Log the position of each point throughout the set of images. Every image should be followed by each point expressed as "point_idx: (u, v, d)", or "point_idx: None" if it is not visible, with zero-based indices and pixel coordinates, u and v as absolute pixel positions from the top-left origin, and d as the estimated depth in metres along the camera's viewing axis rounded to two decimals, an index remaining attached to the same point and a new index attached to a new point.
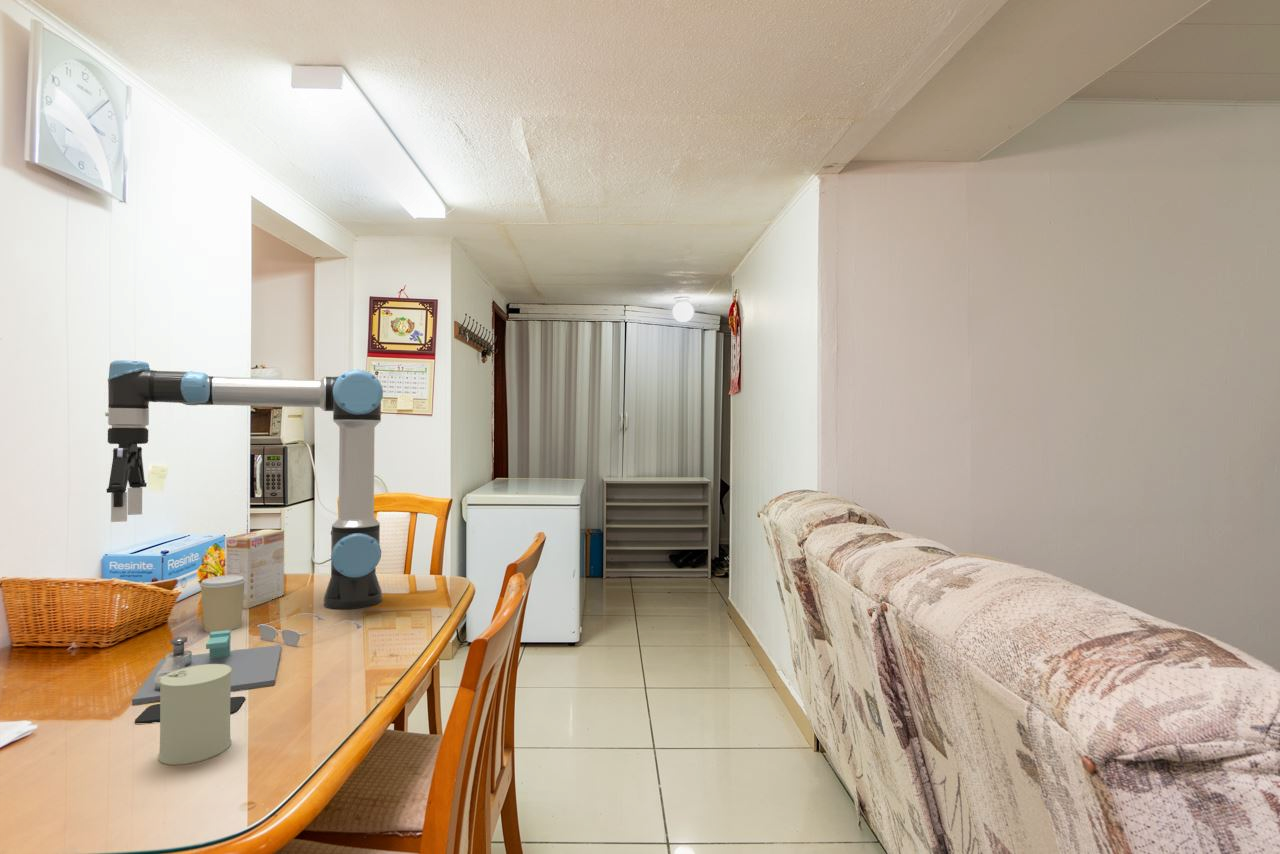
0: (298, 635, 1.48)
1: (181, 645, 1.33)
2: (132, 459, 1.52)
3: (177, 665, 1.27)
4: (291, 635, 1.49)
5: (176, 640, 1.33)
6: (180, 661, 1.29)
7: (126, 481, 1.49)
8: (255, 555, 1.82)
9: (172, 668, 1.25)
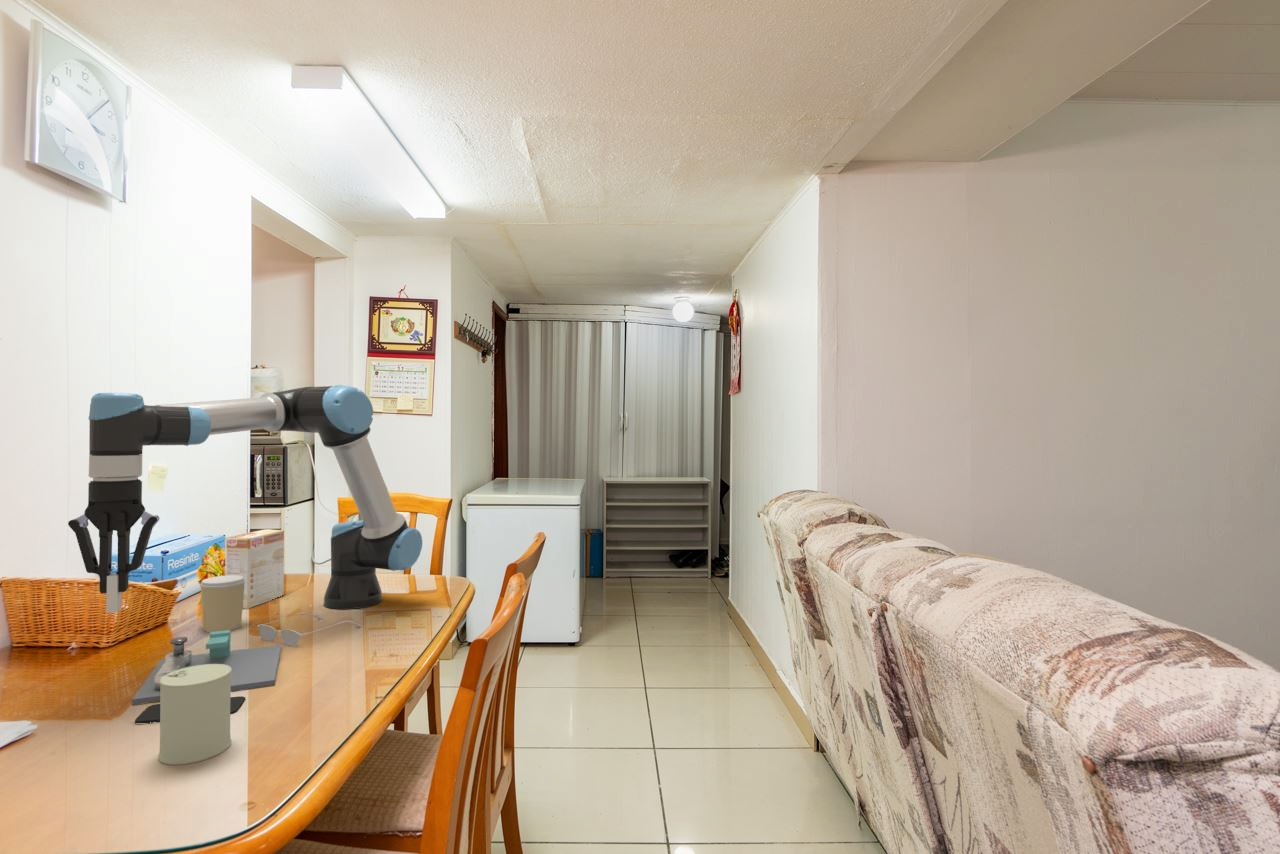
0: (298, 635, 1.48)
1: (181, 645, 1.33)
2: None
3: (177, 665, 1.27)
4: (291, 636, 1.49)
5: (176, 640, 1.33)
6: (180, 661, 1.29)
7: (101, 560, 1.16)
8: (255, 555, 1.82)
9: (172, 668, 1.25)
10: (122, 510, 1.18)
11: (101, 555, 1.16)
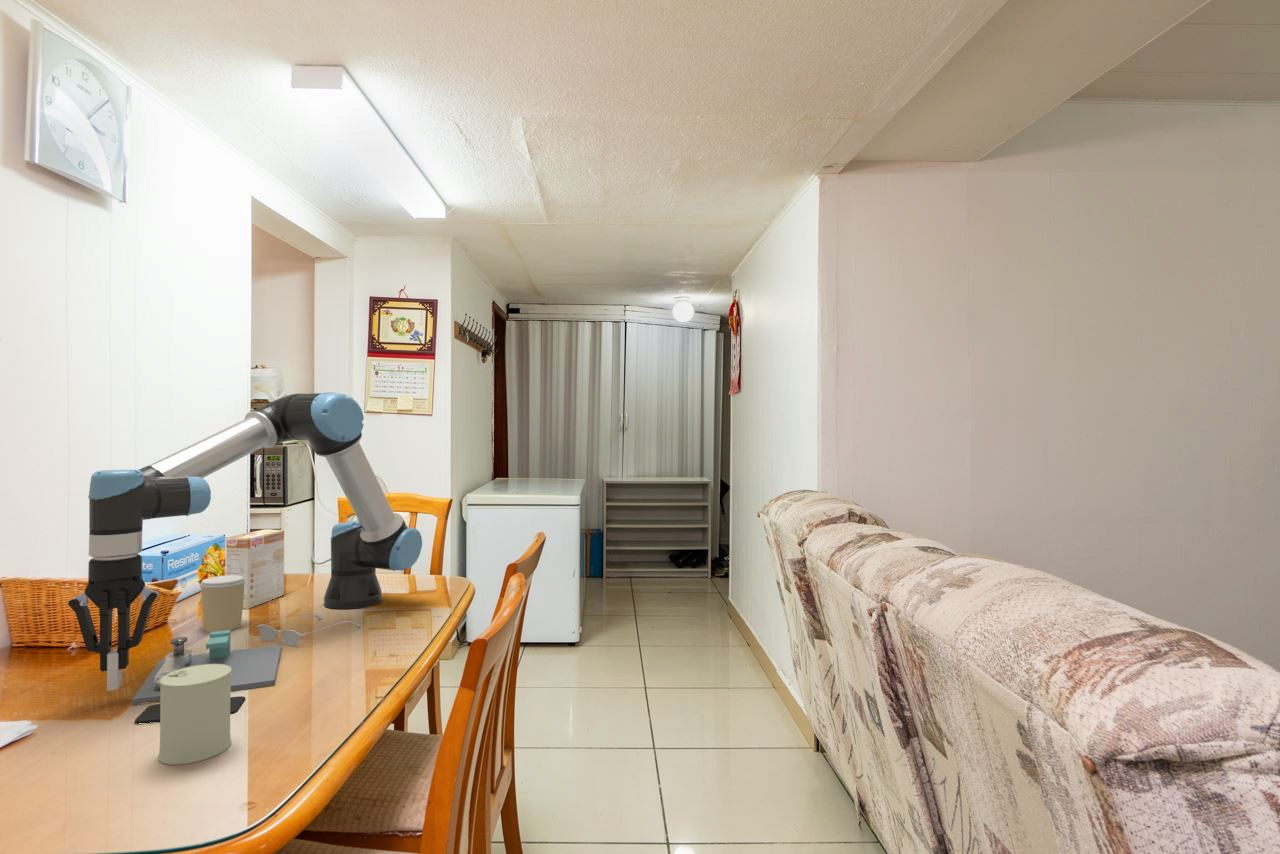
0: (298, 635, 1.48)
1: (181, 645, 1.33)
2: None
3: (177, 665, 1.27)
4: (291, 636, 1.49)
5: (176, 640, 1.33)
6: (180, 661, 1.29)
7: (102, 639, 1.16)
8: (255, 555, 1.82)
9: (172, 668, 1.25)
10: (122, 587, 1.18)
11: (101, 633, 1.16)
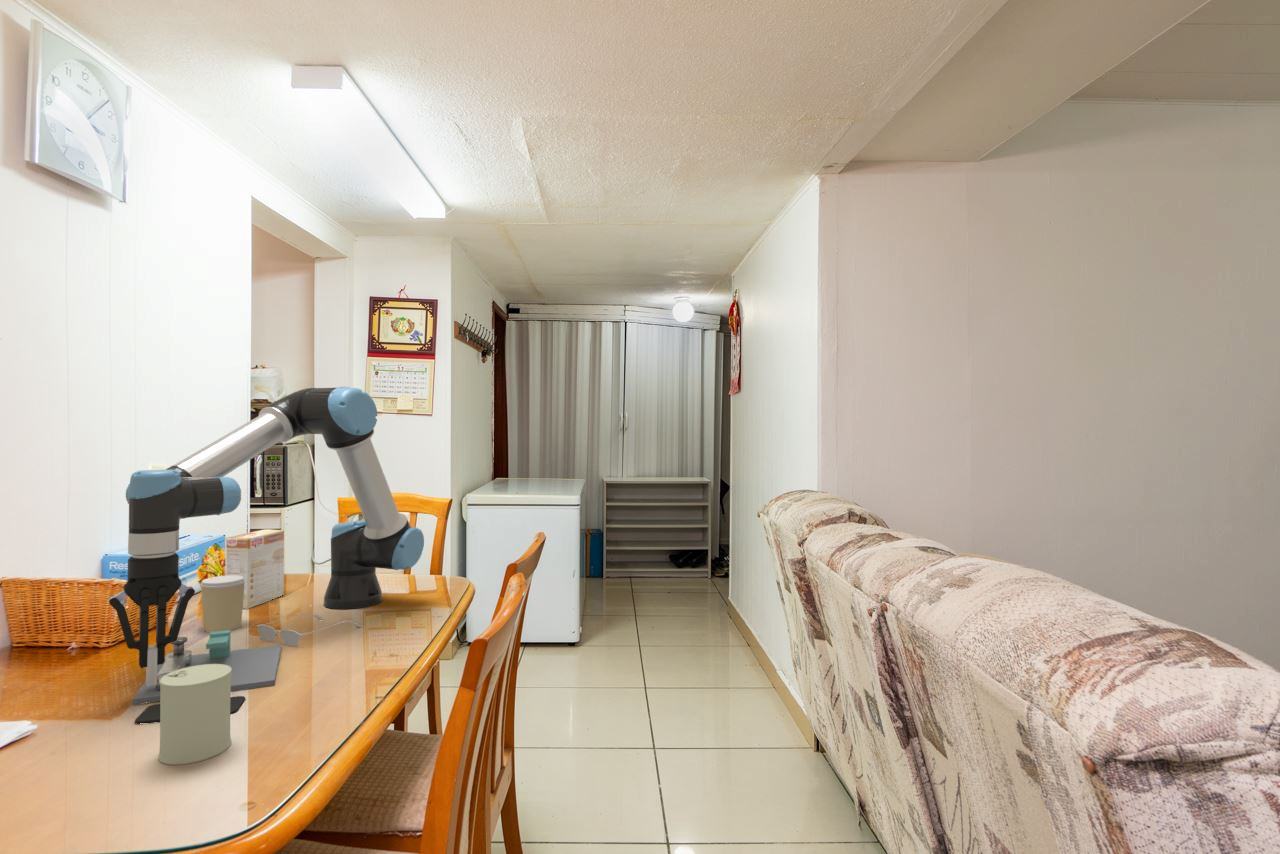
0: (298, 635, 1.48)
1: (181, 645, 1.33)
2: (140, 603, 1.18)
3: (178, 665, 1.27)
4: (291, 636, 1.49)
5: (176, 640, 1.33)
6: (180, 661, 1.29)
7: (142, 635, 1.19)
8: (255, 555, 1.82)
9: (173, 668, 1.25)
10: (162, 584, 1.21)
11: (142, 630, 1.19)
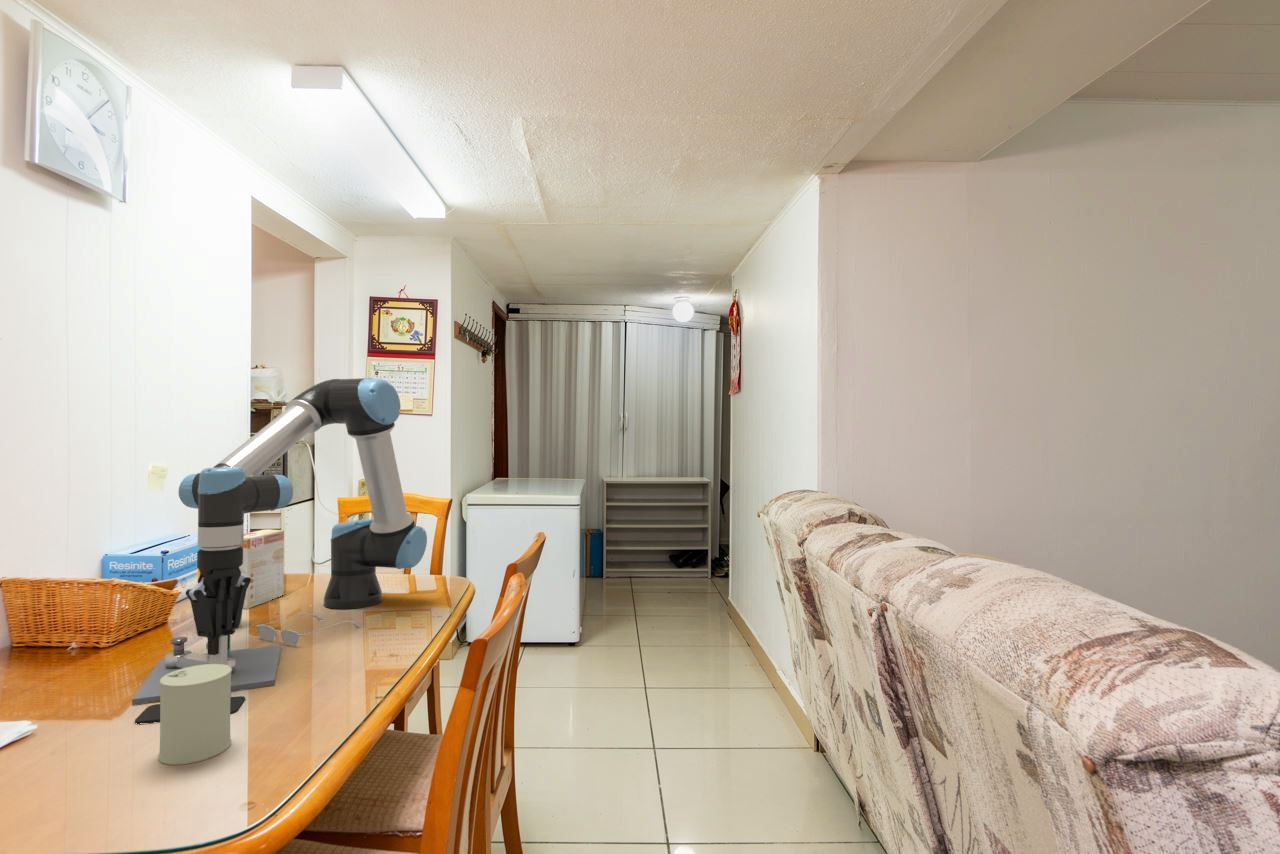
0: (297, 635, 1.48)
1: None
2: (218, 592, 1.25)
3: None
4: (290, 636, 1.49)
5: (180, 639, 1.33)
6: (204, 655, 1.33)
7: (217, 624, 1.26)
8: (255, 555, 1.82)
9: None
10: (230, 575, 1.29)
11: (217, 619, 1.26)
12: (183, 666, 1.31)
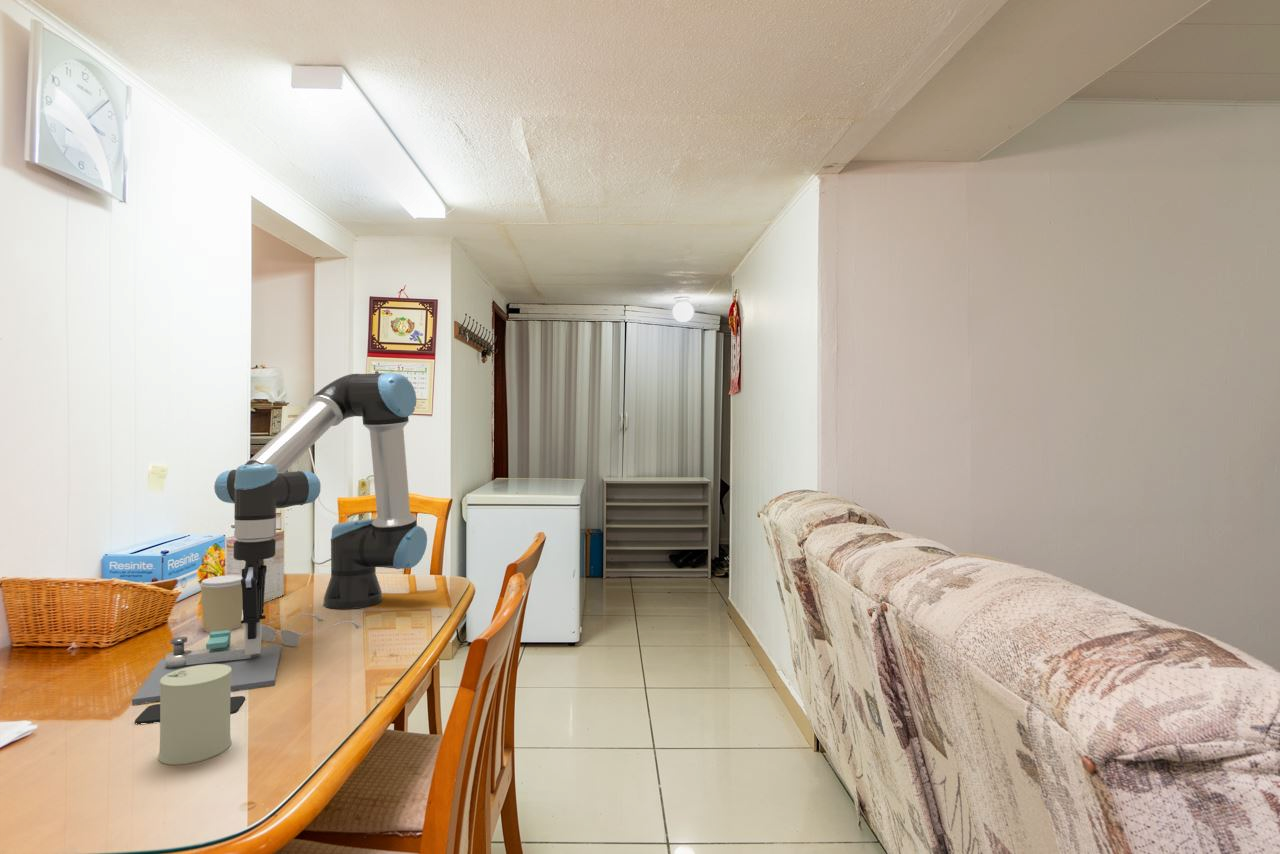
0: (297, 635, 1.48)
1: None
2: (260, 580, 1.36)
3: (224, 647, 1.37)
4: (290, 636, 1.49)
5: (183, 639, 1.34)
6: None
7: (258, 609, 1.36)
8: None
9: (234, 647, 1.38)
10: (261, 564, 1.38)
11: (258, 605, 1.36)
12: (196, 662, 1.33)
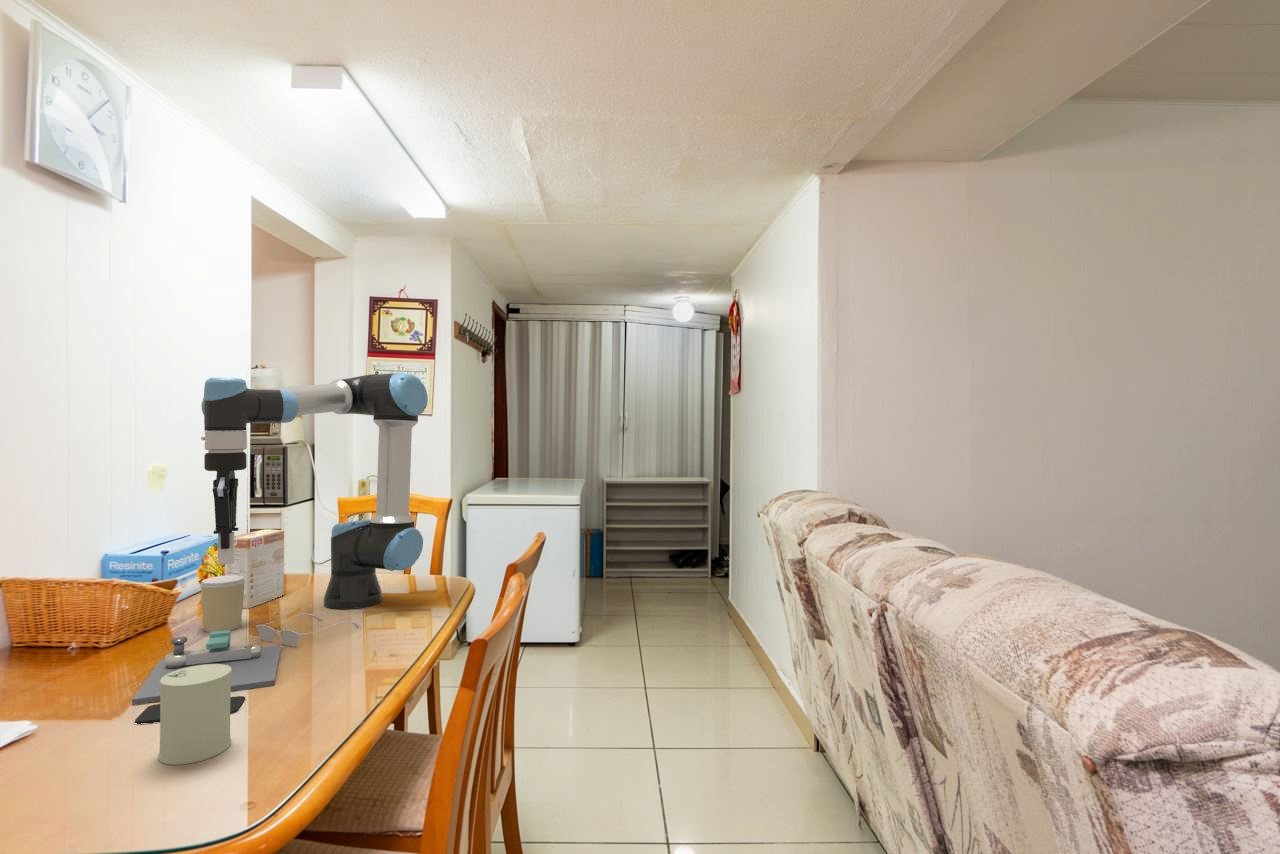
0: (297, 635, 1.48)
1: None
2: (232, 491, 1.37)
3: (224, 647, 1.37)
4: (290, 636, 1.49)
5: (183, 639, 1.34)
6: None
7: (231, 520, 1.38)
8: (255, 555, 1.82)
9: (234, 647, 1.38)
10: (233, 477, 1.40)
11: (231, 515, 1.38)
12: (196, 662, 1.33)
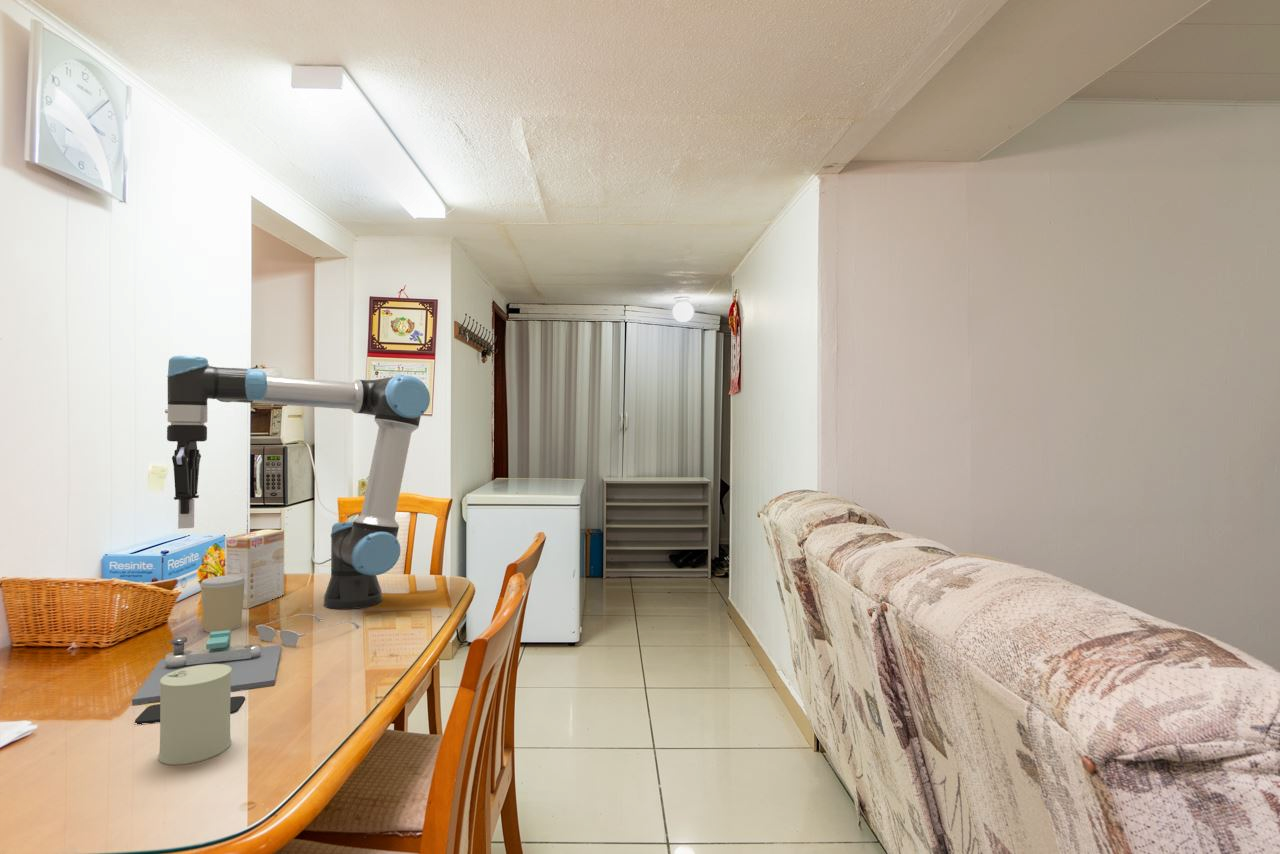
0: (297, 636, 1.48)
1: None
2: (192, 461, 1.49)
3: (224, 647, 1.37)
4: (290, 636, 1.49)
5: (183, 639, 1.34)
6: None
7: (191, 487, 1.49)
8: (255, 555, 1.82)
9: (234, 647, 1.38)
10: (194, 448, 1.52)
11: (190, 483, 1.49)
12: (196, 662, 1.33)
